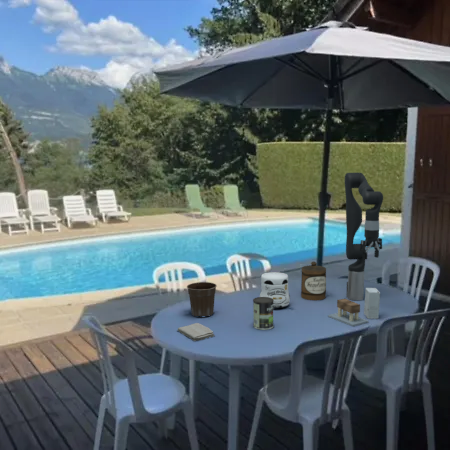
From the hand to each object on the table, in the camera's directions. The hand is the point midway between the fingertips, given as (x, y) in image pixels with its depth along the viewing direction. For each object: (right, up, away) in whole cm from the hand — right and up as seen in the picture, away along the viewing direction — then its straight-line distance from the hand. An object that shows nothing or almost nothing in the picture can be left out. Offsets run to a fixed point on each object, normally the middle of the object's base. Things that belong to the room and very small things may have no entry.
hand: (370, 258), depth 266 cm
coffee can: (-59, -34, -16) cm, 70 cm away
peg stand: (-14, -32, -8) cm, 36 cm away
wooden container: (-25, -26, +33) cm, 49 cm away
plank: (-14, -26, -9) cm, 31 cm away
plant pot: (-92, -31, +4) cm, 97 cm away
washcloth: (-93, -36, -25) cm, 103 cm away
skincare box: (-1, -31, -3) cm, 31 cm away
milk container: (-50, -29, +17) cm, 61 cm away
